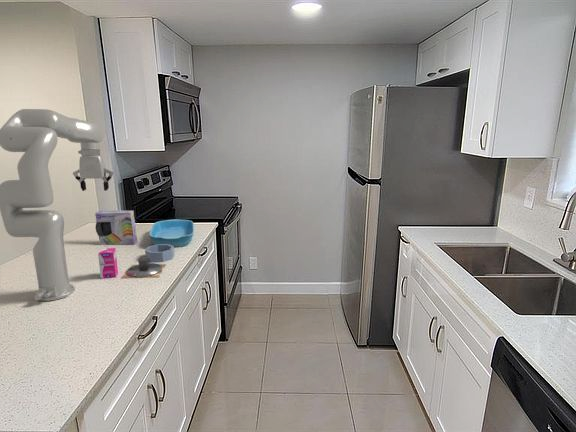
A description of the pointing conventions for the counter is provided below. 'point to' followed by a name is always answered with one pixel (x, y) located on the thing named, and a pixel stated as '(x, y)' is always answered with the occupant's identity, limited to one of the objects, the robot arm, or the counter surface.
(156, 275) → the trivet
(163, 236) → the casserole dish
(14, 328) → the counter surface
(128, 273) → the lid
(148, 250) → the bowl
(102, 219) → the cake pan box
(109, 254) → the supplement box
